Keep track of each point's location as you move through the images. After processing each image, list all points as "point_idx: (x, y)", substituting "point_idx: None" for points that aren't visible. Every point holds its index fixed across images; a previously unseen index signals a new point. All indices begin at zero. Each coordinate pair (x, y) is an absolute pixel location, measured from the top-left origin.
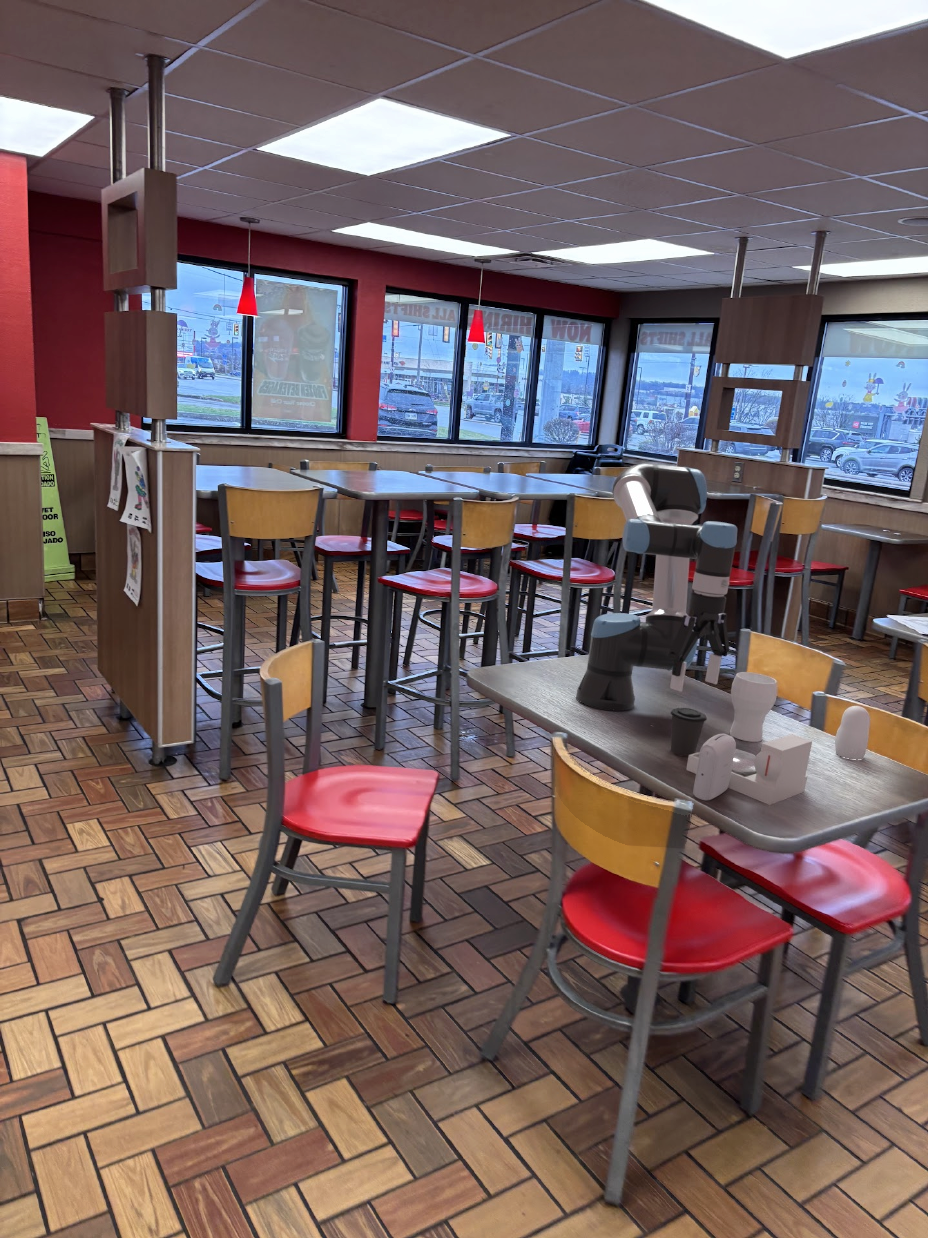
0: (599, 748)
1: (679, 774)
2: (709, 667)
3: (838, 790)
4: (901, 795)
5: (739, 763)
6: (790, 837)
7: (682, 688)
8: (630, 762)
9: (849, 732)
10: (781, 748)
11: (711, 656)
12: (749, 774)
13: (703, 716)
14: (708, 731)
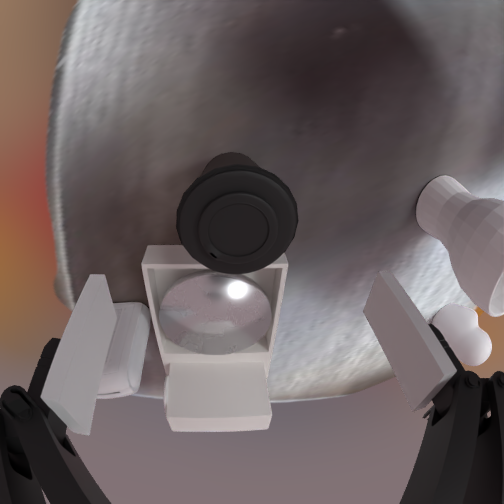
0: (60, 79)
1: (117, 251)
2: (404, 328)
3: (309, 369)
4: (352, 387)
5: (196, 335)
6: None
7: (113, 327)
8: (65, 168)
9: (451, 344)
10: (180, 428)
11: (432, 373)
12: None
13: (257, 264)
14: (416, 143)
